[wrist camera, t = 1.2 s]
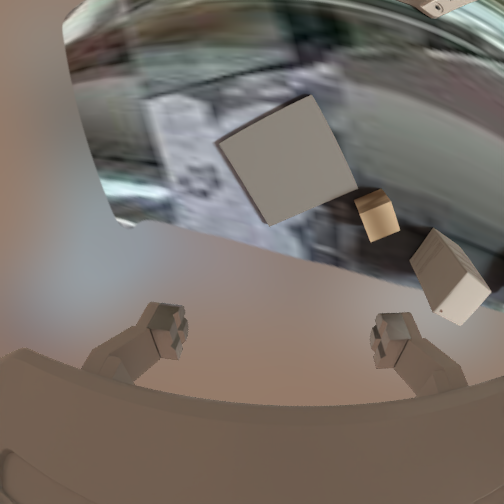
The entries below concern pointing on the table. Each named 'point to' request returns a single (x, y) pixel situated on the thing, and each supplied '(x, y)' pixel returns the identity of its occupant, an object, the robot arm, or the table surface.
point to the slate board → (290, 161)
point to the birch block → (377, 215)
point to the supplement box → (448, 278)
